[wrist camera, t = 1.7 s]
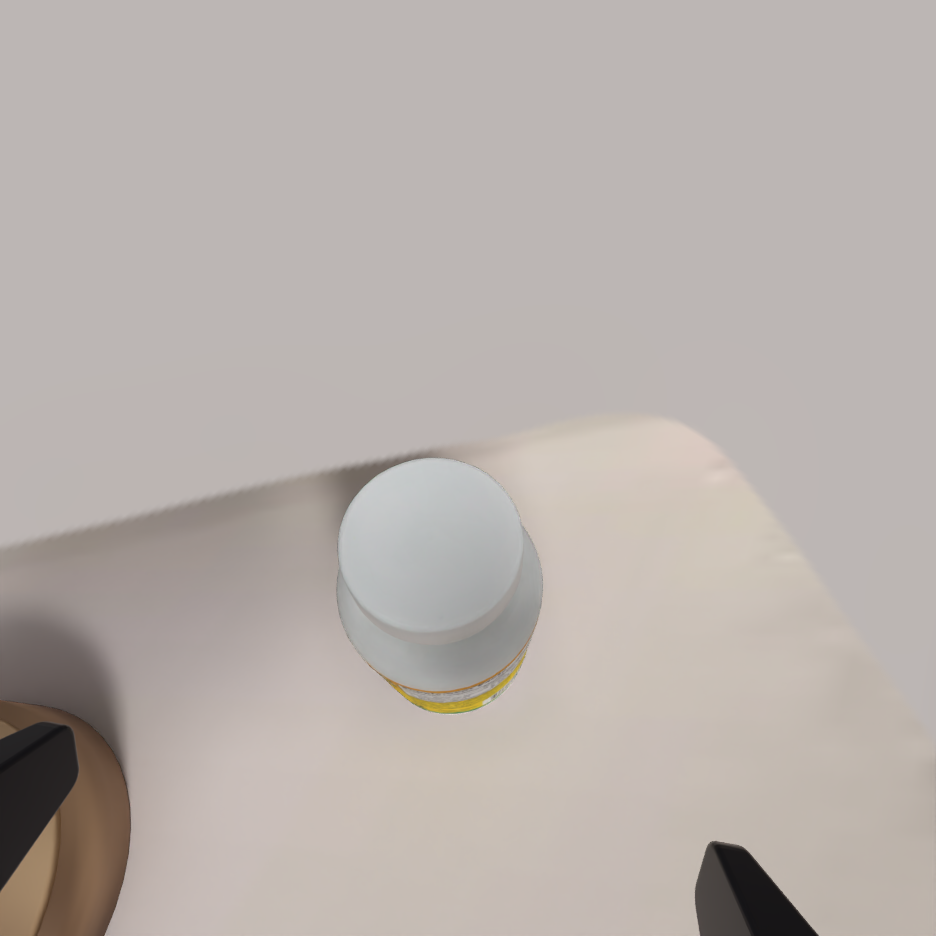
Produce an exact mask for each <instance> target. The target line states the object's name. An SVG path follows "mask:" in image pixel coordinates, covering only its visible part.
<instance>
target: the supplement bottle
mask: <svg viewBox="0 0 936 936" xmlns="http://www.w3.org/2000/svg"><path fill="white" fill-rule="evenodd" d="M337 551H338V561H339V571H338V577H337V603H338V609H339V614H340V618H341V621H342V624H343V627H344V629H345V631H346V633H347V636H348V638H349V639H350V641H351V642H352V644H353V646H354V647H355V649H356V650H357V652H358V653H359V654H360V655H361V657H362V658H363V659H364V660H365V661H366V662H367V663H368V664H369V666H370V667H371V668H372V669H374V670H375V671H376V672H377V673H378V674H380V675H381V676H382V677H383V678H384V679H385V680H386V681H387V682H388V683H389V684H390V685H392V686H393V687H394V688H395V689H396V690H397V691H398V692H399V693H400V694H402V695H403V696H404V697H405V698H406V699H407V700H409V701H410V702H411V703H413V704H415V705H416V706H418V707H420V708H422V709H424V710H426V711H429V712H432V713H436V714H444V715H458V714H464V713H469V712H472V711H475V710H478V709H480V708H483V707H484V706H486V705H488V704H490V703H491V702H493V701H494V700H496V699H497V698H498V697H499V696H500V695H501V694H502V693H503V692H504V691H505V690H506V689H507V688H508V687H509V686H510V684H511V683H512V682H513V680H514V679H515V677H516V675H517V673H518V671H519V669H520V667H521V665H522V663H523V660H524V658H525V655H526V651H527V648H528V645H529V643H530V641H531V638H532V635H533V632H534V629H535V626H536V624H537V620H538V616H539V613H540V609H541V603H542V594H543V578H542V569H541V564H540V560H539V557H538V554H537V550H536V548H535V546H534V544H533V541H532V540H531V538H530V536H529V534H528V533H527V531H526V530H525V528H524V527H523V525H522V523H521V519H520V516H519V514H518V511H517V508H516V506H515V504H514V503H513V501H512V499H511V498H510V496H509V495H508V493H507V492H506V491H505V489H504V488H503V487H502V486H501V485H500V484H499V483H498V482H497V481H496V480H494V479H493V478H492V477H491V476H490V475H488V474H487V473H485V472H484V471H482V470H480V469H479V468H477V467H475V466H472V465H469V464H467V463H464V462H461V461H457V460H453V459H447V458H422V459H416V460H411V461H407V462H404V463H401V464H398V465H396V466H393V467H391V468H389V469H387V470H385V471H383V472H382V473H380V474H378V475H377V476H375V477H374V478H373V479H372V480H370V481H369V482H368V483H367V484H366V485H365V486H364V487H363V488H362V489H361V490H360V491H359V492H358V494H357V495H356V496H355V497H354V499H353V500H352V501H351V503H350V505H349V507H348V508H347V511H346V513H345V515H344V517H343V520H342V523H341V526H340V529H339V536H338V545H337Z"/></svg>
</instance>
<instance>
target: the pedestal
mask: <svg viewBox="0 0 936 936" xmlns="http://www.w3.org/2000/svg"><path fill="white" fill-rule="evenodd" d="M43 721H48V722H54V723H60V724H66V725H69V726H70V727H71V728H72V729H73V731H74V735H75V742H76V748H77V755H78V762H79V775H78V778H77V781H76V783H75V785H74V787H73V788H72V790H71V792H70V793H69V794H68V796H67V797H66V799H65V800H64V802H63V803H62V804H61V806H60V807H59V809H58V810H57V812H56V813H55V815H54V816H53V817H52V819H51V820H50V822H49V823H48V825H47V826H46V827H45V829H44V830H43V832H42V833H41V835H40V836H39V838H38V839H37V840H36V842H35V843H34V845H33V846H32V848H31V849H30V850H29V852H28V853H27V855H26V856H25V858H24V859H23V861H22V862H21V863H20V865H19V866H18V868H17V869H16V871H15V872H14V873H13V875H12V876H11V878H10V879H9V881H8V882H7V884H6V885H5V886H4V888H3V889H2V890H1V892H0V936H104V935H105V933H106V930H107V928H108V925H109V923H110V920H111V917H112V915H113V912H114V910H115V907H116V904H117V900H118V897H119V894H120V890H121V887H122V883H123V880H124V874H125V869H126V864H127V859H128V852H129V840H130V806H129V800H128V794H127V788H126V784H125V780H124V777H123V774H122V771H121V768H120V765H119V763H118V761H117V759H116V757H115V755H114V753H113V751H112V750H111V748H110V747H109V746H108V744H107V743H106V741H105V740H104V739H103V737H102V736H101V735H100V734H99V733H98V732H97V731H96V730H94V729H93V728H92V727H91V726H90V725H89V724H87V723H86V722H84V721H83V720H81V719H80V718H78V717H77V716H75V715H72V714H70V713H67V712H65V711H62V710H60V709H55V708H51V707H46V706H40V705H33V704H25V703H18V702H11V701H3V700H0V739H1V738H4V737H6V736H8V735H10V734H13V733H15V732H17V731H19V730H22V729H24V728H26V727H28V726H31V725H33V724H35V723H38V722H43Z"/></svg>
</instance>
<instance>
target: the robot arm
mask: <svg viewBox="0 0 936 936" xmlns="http://www.w3.org/2000/svg"><path fill="white" fill-rule="evenodd" d="M78 775H79V762H78V755H77V748H76V742H75V735H74V731H73V729H72V728H71V727H70V726H69V725H66V724H60V723H54V722H48V721H43V722H38V723H35V724H33V725H31V726H28V727H26V728H24V729H22V730H19V731H17V732H15V733H13V734H10V735H8V736H6V737H4V738H1V739H0V892H1V890H2V889H3V888H4V886H5V885H6V884H7V882H8V881H9V879H10V878H11V876H12V875H13V873H14V872H15V871H16V869H17V868H18V866H19V865H20V863H21V862H22V861H23V859H24V858H25V856H26V855H27V853H28V852H29V850H30V849H31V848H32V846H33V845H34V843H35V842H36V840H37V839H38V838H39V836H40V835H41V833H42V832H43V830H44V829H45V827H46V826H47V825H48V823H49V822H50V820H51V819H52V817H53V816H54V815H55V813H56V812H57V810H58V809H59V807H60V806H61V804H62V803H63V802H64V800H65V799H66V797H67V796H68V794H69V793H70V792H71V790H72V788H73V787H74V785H75V783H76V781H77V778H78ZM695 905H696V913H697V919H698V925H699V931H700V936H819V935H818V934H817V933H816V932H815V931H814V930H813V928H812V927H811V926H810V925H809V924H808V922H807V921H806V920H805V919H804V918H803V916H802V915H801V914H800V913H799V912H798V910H797V909H796V908H795V907H794V906H793V904H792V903H791V902H790V901H789V900H788V898H787V897H786V896H785V895H784V894H783V892H782V891H781V890H780V889H779V888H778V886H777V885H776V884H775V883H774V882H773V880H772V879H771V878H770V877H769V876H768V874H767V873H766V872H765V871H764V870H763V868H762V867H761V866H760V865H759V864H758V862H757V861H756V860H755V859H754V858H753V856H752V855H751V854H750V853H749V852H748V851H747V850H746V849H745V848H743V847H741V846H739V845H735V844H729V843H724V842H718V841H712V842H710V843H709V844H708V846H707V848H706V851H705V855H704V858H703V862H702V865H701V869H700V872H699V876H698V879H697V882H696V887H695Z"/></svg>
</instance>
